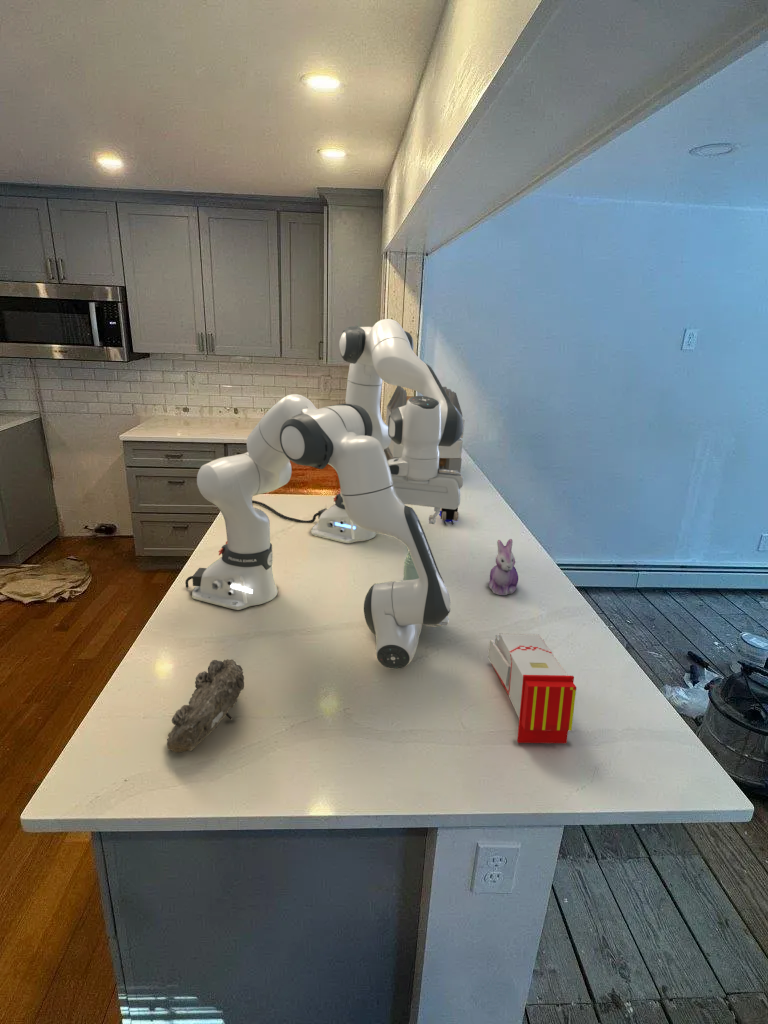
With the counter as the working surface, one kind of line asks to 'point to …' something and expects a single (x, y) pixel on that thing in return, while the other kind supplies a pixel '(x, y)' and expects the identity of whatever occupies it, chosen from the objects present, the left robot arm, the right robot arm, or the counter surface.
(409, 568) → the bottle
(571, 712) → the toy
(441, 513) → the figurine character
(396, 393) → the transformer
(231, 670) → the fossil
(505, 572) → the figurine
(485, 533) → the counter surface
